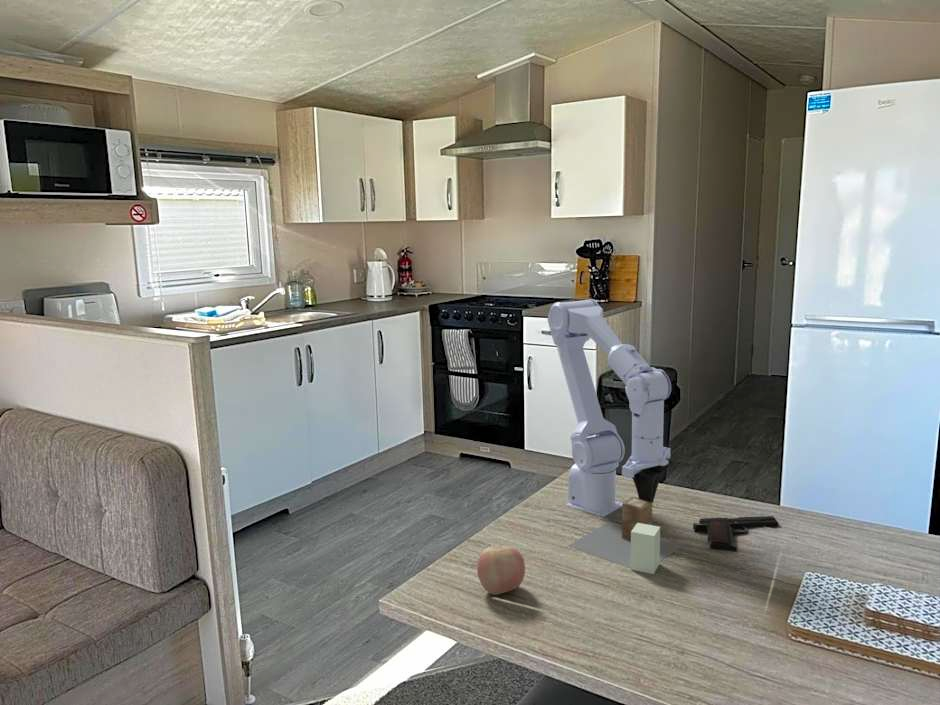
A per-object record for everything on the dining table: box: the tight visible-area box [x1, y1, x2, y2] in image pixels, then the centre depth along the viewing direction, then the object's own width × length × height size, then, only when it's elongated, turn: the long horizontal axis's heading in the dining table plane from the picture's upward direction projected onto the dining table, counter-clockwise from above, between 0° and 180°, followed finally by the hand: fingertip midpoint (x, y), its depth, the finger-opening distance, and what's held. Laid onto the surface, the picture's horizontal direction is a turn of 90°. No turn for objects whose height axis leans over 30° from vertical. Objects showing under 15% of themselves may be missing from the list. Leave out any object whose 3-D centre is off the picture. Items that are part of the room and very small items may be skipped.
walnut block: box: [621, 496, 653, 541], centre depth 136 cm, size 4×4×7 cm
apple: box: [476, 545, 526, 596], centre depth 119 cm, size 8×8×8 cm
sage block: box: [629, 523, 661, 575], centre depth 125 cm, size 4×4×7 cm
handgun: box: [692, 515, 780, 552], centre depth 136 cm, size 2×17×12 cm
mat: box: [567, 521, 684, 574], centre depth 134 cm, size 16×14×1 cm
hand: (646, 502), depth 138 cm, fingers closed
